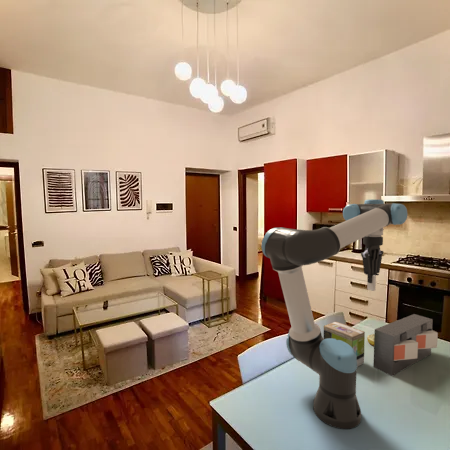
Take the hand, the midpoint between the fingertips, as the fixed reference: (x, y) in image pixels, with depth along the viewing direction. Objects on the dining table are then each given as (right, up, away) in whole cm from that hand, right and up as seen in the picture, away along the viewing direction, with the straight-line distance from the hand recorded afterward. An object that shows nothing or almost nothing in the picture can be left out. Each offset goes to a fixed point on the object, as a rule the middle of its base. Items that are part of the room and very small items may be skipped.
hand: (371, 289), depth 124 cm
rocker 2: (+28, -28, +8) cm, 41 cm away
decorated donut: (+16, -33, +23) cm, 44 cm away
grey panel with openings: (+19, -34, +7) cm, 39 cm away
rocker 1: (+13, -29, -1) cm, 32 cm away
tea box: (-9, -34, +8) cm, 36 cm away
